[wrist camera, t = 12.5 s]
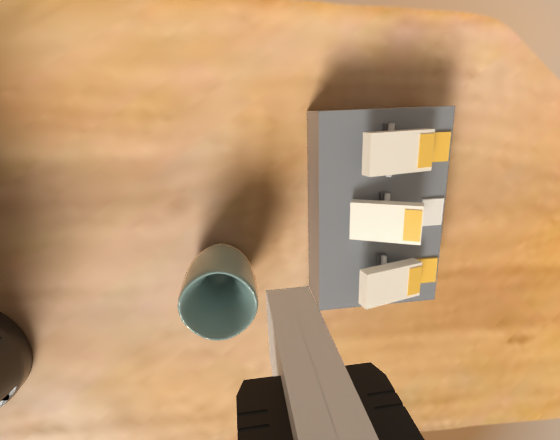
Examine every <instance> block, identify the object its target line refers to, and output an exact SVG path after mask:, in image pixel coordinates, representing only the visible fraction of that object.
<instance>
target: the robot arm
mask: <svg viewBox="0 0 560 440" xmlns="http://www.w3.org/2000/svg"><path fill="white" fill-rule="evenodd" d="M266 298H267V317H268V336H269V354H270V362H271V367H272V373H273V376H272V377H265V378H257V379H249V380H244V381H243V383H242V385H241V387H240V389H239V392H238V394H237V396H236V398H237V429H238V440H424V438H423V437H422V435H421V433H420V432H419V430H418V428H417V426H416V425H415V423H414V421H413V420H412V418H411V416H410V415H409V413H408V411H407V410H406V408H405V406H404V407H403V404H402V401H401V400H400V398H399V396H398V395H397V393H395V390H394V388H393V386H392V385H391V383H390V381H389V380H388V378H387V376H386V375H385V374H384V373H383V372H382V371H380V370H379V369H378V368H377V367H376V366H374V365H373V364H372V363H371V362H370V363H363V364H355V365H347V366H345V365H344V363H343V361H342V358H341V356H340V354H339V352H338V350H337V348H336V345H335V343H334V341H333V339H332V337H331V334H330V332H329V330H328V328H327V326H326V324H325V321H324V319H323V317H322V315H321V313H320V311H319V308H318V306H317V304H316V302H315V300H314V297H313V295H312V293H311V291H310V289H309V287H308V286H306V287H296V288H286V289H276V290H266ZM31 366H32V353H31V348H30V345H29V343H28V341H27V339H26V337H25V335H24V334H23V332H22V331H21V330H20V328H19V327H18V326H17V325H16V324H15V323H14V322H13V321H11V320H10V319H9V318H8V317H6V316H5V315H3V314H2V313H0V407H1V406H3V405H4V404H6V403H7V402H8V401H9V400H10V399H11V398H12V397H13V396H14V395H15V394H16V392H17V391H18V390H19V389H20V387H21V386H22V385H23V383H24V382H25V381H26V379H27V377H28V375H29V373H30V370H31Z"/></svg>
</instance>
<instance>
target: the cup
mask: <svg viewBox="0 0 560 440" xmlns="http://www.w3.org/2000/svg"><path fill="white" fill-rule="evenodd" d="M257 309H258V292H257V284H256V278H255V274H254V271H253V268H252V265H251V263H250V262H249V260H248V258H247V257H246V256H245V255H244V254H243V252H241V251H240V250H239V249H237V248H236V247H234V246H232V245H229V244H223V243H220V244H215V245H211V246H209V247H207V248H205V249H204V250H203V251H201V252H200V253H199V254H198V255H197V256H196V257H195V258H194V260H193V261H192V263H191V264H190V266H189V268H188V270H187V272H186V275H185V278H184V281H183V284H182V287H181V290H180V294H179V298H178V311H179V315H180V317H181V319H182V321H183V322H184V324H185V325H186V326H187V327H188V328H189V329H190V330H191V331H192V332H194V333H195V334H197V335H199V336H201V337H203V338H206V339H209V340H226V339H229V338H232V337H234V336H236V335H238V334H240V333H241V332H242V331H244V330H245V329H246V328H247V327H248V326H249V325H250V324H251V322H252V321H253V319H254V318H255V315H256V313H257Z"/></svg>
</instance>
